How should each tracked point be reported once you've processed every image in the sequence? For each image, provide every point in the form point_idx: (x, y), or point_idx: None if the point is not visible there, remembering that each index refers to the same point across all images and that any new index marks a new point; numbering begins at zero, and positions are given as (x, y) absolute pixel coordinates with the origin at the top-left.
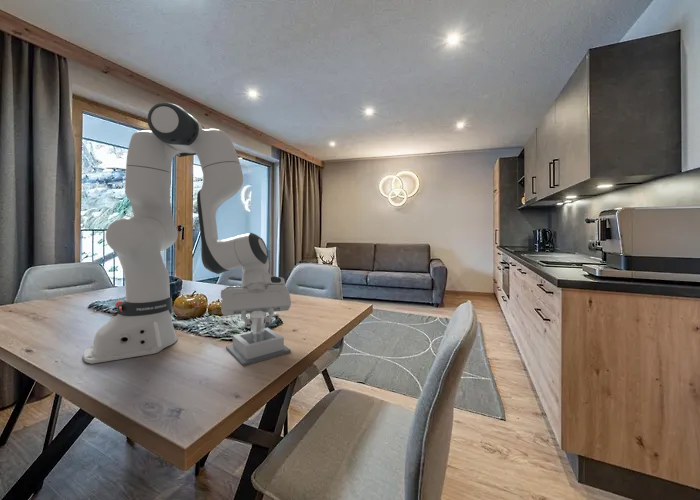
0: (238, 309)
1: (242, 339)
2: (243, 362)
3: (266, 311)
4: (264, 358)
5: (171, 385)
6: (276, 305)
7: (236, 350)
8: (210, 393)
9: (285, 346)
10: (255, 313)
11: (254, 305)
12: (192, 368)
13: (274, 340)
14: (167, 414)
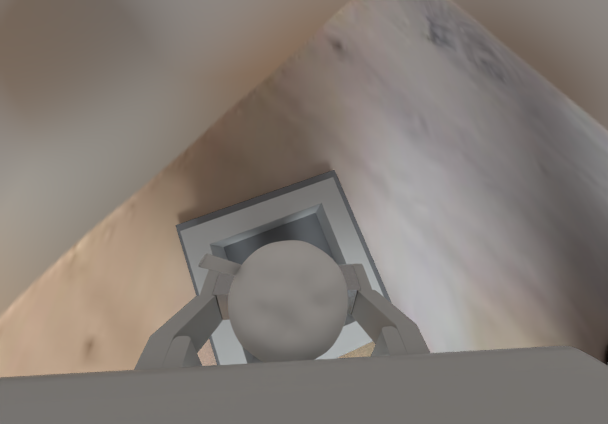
0: (458, 352)
1: (352, 261)
2: (333, 174)
3: (218, 260)
4: (271, 192)
5: (482, 129)
6: (82, 376)
7: None
8: (392, 72)
9: (187, 261)
10: (308, 258)
11: (322, 383)
12: (463, 202)
13: (223, 216)
14: (450, 33)
